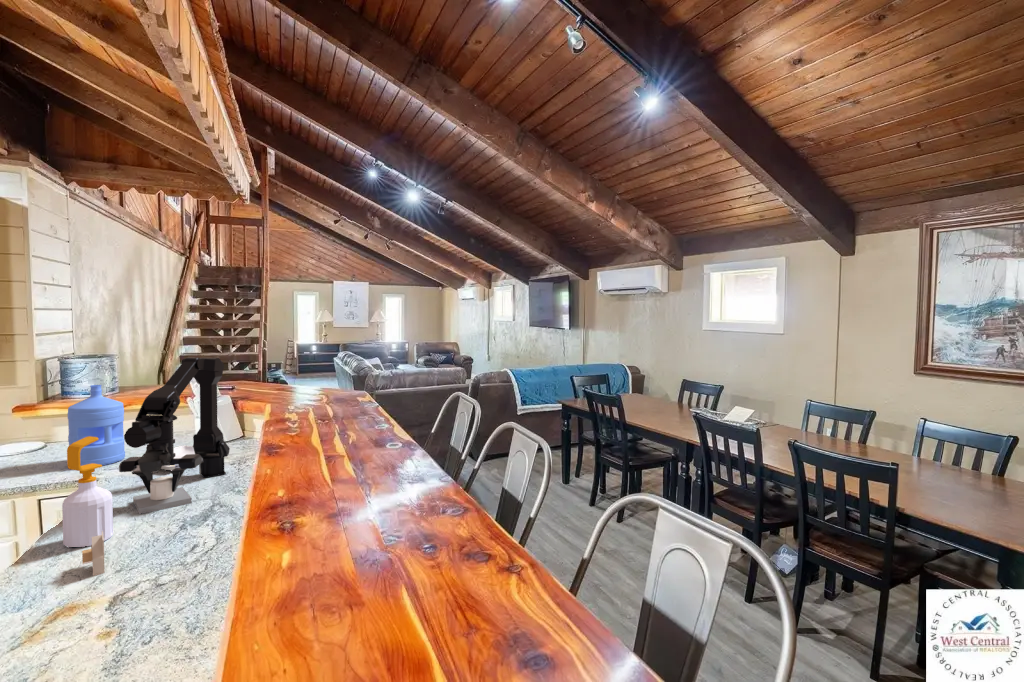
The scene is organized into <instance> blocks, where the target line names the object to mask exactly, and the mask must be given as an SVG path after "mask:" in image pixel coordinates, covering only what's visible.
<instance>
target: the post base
mask: <svg viewBox="0 0 1024 682" xmlns="http://www.w3.org/2000/svg"><path fill="white" fill-rule="evenodd" d="M132 499H133V500H132V502H133V504H134V507H135V509H136V510H137V512H138V514H139V515H142V514H147V513H151V511H152V512H156V511H160V510H164V509H169V508H170V509H171V508H174V507H178V506H183V505H188V504H192V497H191V495H190V494H189V493H188V491H186V489H185V488H184V487H182V486H181V487H177V488H176V490H175V492H174V495H173V497H170V498H167V499H162V500H151V495H150V493H144V494H139V495H135V496H132ZM146 512H147V513H146ZM141 513H142V514H141Z"/></svg>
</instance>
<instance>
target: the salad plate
mask: <svg viewBox="0 0 1024 682" xmlns="http://www.w3.org/2000/svg"><path fill="white" fill-rule="evenodd" d="M174 453H175V457H174V459H176V458H182V457H183V456H185V455H188V454H195V452H194V448H193V445H184V444H183V445H180V446H176V447H174ZM161 469H165V470H164V471H166V470H173V469H175V466H170V467H169V466H162V467H161Z"/></svg>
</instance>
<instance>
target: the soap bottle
mask: <svg viewBox="0 0 1024 682" xmlns="http://www.w3.org/2000/svg"><path fill="white" fill-rule="evenodd" d="M97 440H98V437H92V436H88V437H85V438H83V439H81V440H79V441H76V442H74V443H72V444H71V445H69V444H68V446H67V449H66V461H67V464H66V465H67V468H68V469H69V470H72V471H79V474H80V475H82V477H81V478H78V480H77V482H78V483H77V485H78V486H77V487H78V488H77V490H75V491H74V492H72V493H70V494H69V495H68V496H67V497H65V499H63V502H62V505H61V506H62V508H61V510H62V515H61V516H62V542H63V543H62V545H63V546H64V545H65V546H68V547H67V548H69V547H82V548H86V547H85V546H87V547H91V545H92V537H94V536H99V535H102V531H103V536H104V542H105V541H107V540H109V539H111V538H112V536H113V535H114V517H113V516H114V512H113V511H114V509H113V508H114V507H113V505H114V504H113V494H112V492H111V491H110V490H108V489H106V488H104V487H100V486H98V485H97V484H98V483H97V477H96V476H93V473H94V472H95V471H96V469H98V468H102V467H103V466H102V465H101V464H95V463H91V464H86V465H82V466H81V463H80V452H81V449H82V448H83V447H85V446H87V445H89V444H91V443H93V442H95V441H97ZM65 546H64V547H65Z"/></svg>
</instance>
